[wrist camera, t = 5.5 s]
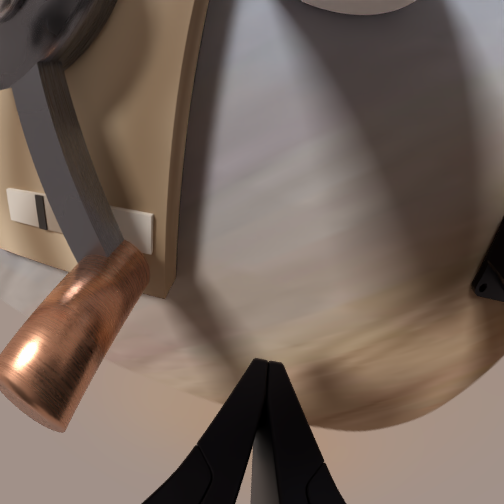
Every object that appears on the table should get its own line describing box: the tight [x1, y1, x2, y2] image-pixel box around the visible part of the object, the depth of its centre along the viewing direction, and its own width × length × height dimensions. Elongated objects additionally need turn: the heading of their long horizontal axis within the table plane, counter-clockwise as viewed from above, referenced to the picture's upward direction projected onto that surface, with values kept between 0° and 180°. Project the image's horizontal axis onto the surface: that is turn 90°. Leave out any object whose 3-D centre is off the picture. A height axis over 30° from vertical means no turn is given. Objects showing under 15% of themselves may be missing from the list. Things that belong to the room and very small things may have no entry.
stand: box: [0, 0, 209, 299], centre depth 9 cm, size 13×16×2 cm
